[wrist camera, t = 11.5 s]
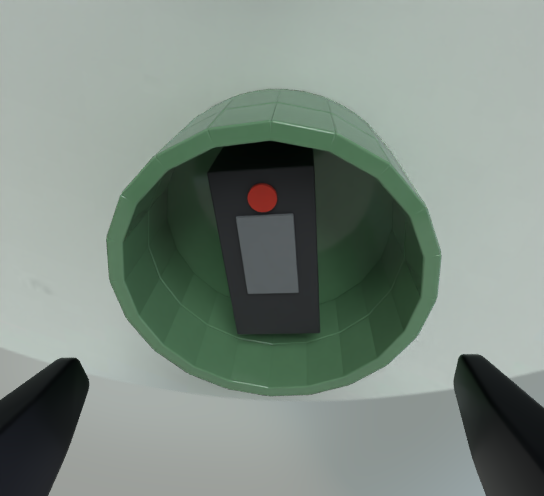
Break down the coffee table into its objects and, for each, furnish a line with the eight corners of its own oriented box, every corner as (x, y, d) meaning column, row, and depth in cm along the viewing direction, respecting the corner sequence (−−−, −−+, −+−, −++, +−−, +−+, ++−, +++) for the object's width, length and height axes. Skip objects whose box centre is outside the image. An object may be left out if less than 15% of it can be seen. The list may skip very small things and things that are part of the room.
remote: (317, 286, 17) (320, 336, 14) (247, 287, 17) (236, 338, 15) (312, 137, 13) (314, 167, 11) (224, 143, 14) (204, 174, 11)
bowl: (360, 324, 19) (377, 415, 14) (158, 288, 18) (115, 370, 14) (442, 118, 13) (507, 165, 9) (162, 63, 13) (93, 85, 9)
